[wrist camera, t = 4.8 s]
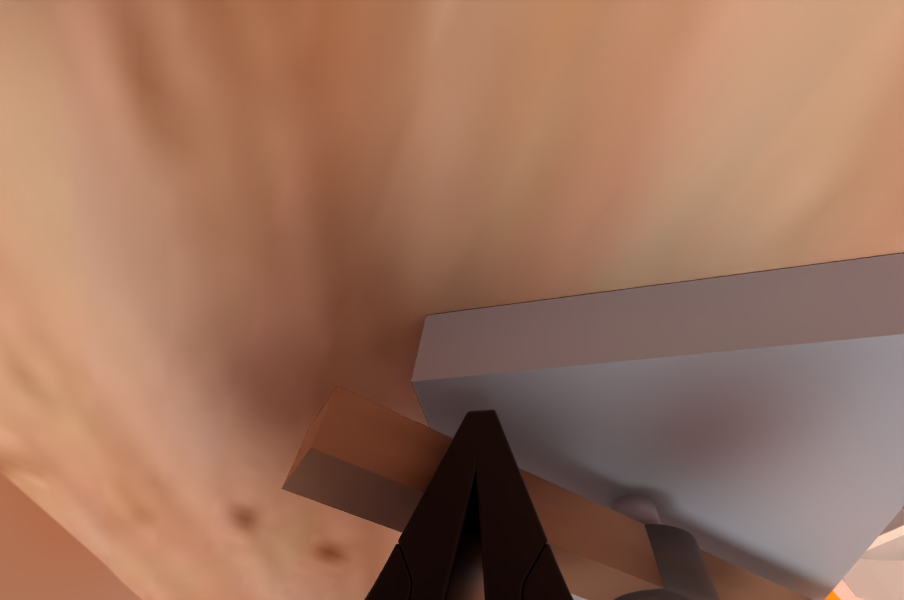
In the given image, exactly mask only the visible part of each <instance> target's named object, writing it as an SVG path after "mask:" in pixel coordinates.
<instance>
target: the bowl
mask: <svg viewBox="0 0 904 600" xmlns="http://www.w3.org/2000/svg"><path fill="white" fill-rule="evenodd" d="M833 591H834V592H835V594H836V595H837V596H838V597H839V598H840V599H841V600H904V507H903V508H902V509H901V510H900V511H899V513H898V514H897V515H896V516H895V517H894V518H893V520H892V521H891V522H890V523H889V524H888V526H887V527H886V528H885V529H884V530H883V531H882V533H881V534H880V535H879V536H878V537H877V539H876V540H875V541H874V542H873V543H872V544H871V546H870V547H869V548H868V549H867V550H866V552H865V553H864V554H863V555H862V556H861V558H860V559H859V560H858V561H857V562H856V563H855V565H854V566H853V567H852V568H851V569H850V571H849V572H848V573H847V574H846V575H845V576H844V578H843V579H842V580H841V581H840V582H839V584H838V585H837V586H836V587H835V588H834V589H833Z"/></svg>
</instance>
